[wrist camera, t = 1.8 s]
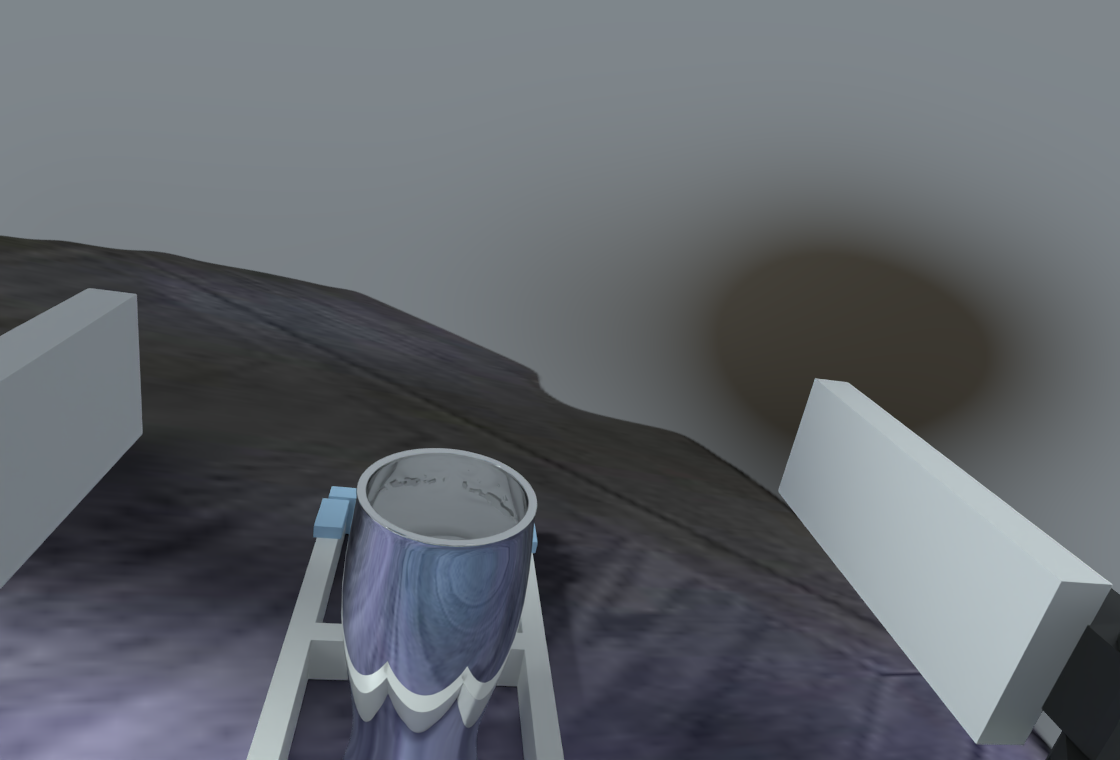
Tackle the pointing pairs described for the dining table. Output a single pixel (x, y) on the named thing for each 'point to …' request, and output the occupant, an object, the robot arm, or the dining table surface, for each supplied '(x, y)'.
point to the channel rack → (322, 657)
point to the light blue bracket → (346, 515)
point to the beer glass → (432, 599)
